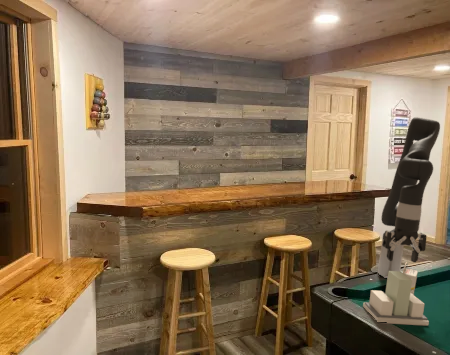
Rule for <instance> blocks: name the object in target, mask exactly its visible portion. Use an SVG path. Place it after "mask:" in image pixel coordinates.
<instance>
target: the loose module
mask: <svg viewBox="0 0 450 355" xmlns="http://www.w3.org/2000/svg"><path fill="white" fill-rule="evenodd" d="M385 285H386V286H385V292H384V294H386V295H387V296H388V297H389V298H390V299H391V300H392V301H393V302H394V303H393V310H392V313H393V314H394V315H401V316H407V313H408V306H409V299H410V292H411V286H412V280H411V279H410V278H409V277H407V276H406V275H405V274H403V271H401V270H400V271H388V278H387V279H386V284H385Z"/></svg>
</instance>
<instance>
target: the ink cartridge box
mask: <svg viewBox="0 0 450 355" xmlns="http://www.w3.org/2000/svg"><path fill="white" fill-rule="evenodd" d="M407 262H408V261H406V262H405V264H404V266H403V269H402V270H403V271H402V273H403V274H405V275H406V276H407V277H409V278H410V279H411V280H412V286H411V292H410V293H412V294H413V295H414V296H415V288H416V285H417V284H416V283H417V279H418V278H417V277H418V270H415V269H411V268H407Z"/></svg>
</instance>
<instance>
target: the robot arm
mask: <svg viewBox="0 0 450 355" xmlns="http://www.w3.org/2000/svg"><path fill="white" fill-rule="evenodd" d="M440 130H441V124H440V122H439V121H437V120H433V119H429V118H423V117H419V116H415V117H413V118H412V119H411V120H410V122H409V124H408V127H407V132H406V136H405V140H404V145H403V149H402V152H401V155H400V157H399V162H398V163H397V164H398V165H397V167H396V171H395V172H394V177H393V181H392V184H391V188H390V192H389V194H388V197H387V199H386V201H385V204H384V206H383V209H382V213H381V223H382V224H383V225H385V226H387V227H388V226H389V227H394V228H393V229H391V230H387V229H386V230H385V231H384V232H383V234H382V240H381V245H380V246H381V247H380V253H379V258H378V265H377V266H378V267H377V268H378V269H377V274H378V273H379V274H381V275H385V276H388V271H400V272H401V269H402V268H401V267H402V261H403V260H402V259H403V254H404V253H403V252H404V246H405V245H406V246H410V247H411V248H412V251H411V257H410V258H411V259H410V261H411V262H412V263H417V261H418V260H419V256H420V253H421V252H425V251H426V245H427V234H425V233H423V232H419V229H420V223H421V217H422V205H423V200H424V199H423V198H424V193H425V190H426V187H427V185H428V182H429V180H430V178H432V177H431V176H432V174H433V172H434V165H433V163H432V162H431V161H430V157H431V151H433V150H432V149H433V148H434V146H435V144H436V141H437V139H438V137H439V135H440ZM414 141H416V142H414ZM397 205H398V206H397ZM418 232H419V233H418ZM417 239H418V243H417V242H416V240H417Z"/></svg>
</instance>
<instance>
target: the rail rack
mask: <svg viewBox="0 0 450 355" xmlns="http://www.w3.org/2000/svg"><path fill="white" fill-rule="evenodd" d="M369 296H370V297H369V301H368V302H367V301H365V302H363V304H362V307H363V308H364V309H365V311H366V312H367V313H368V312H369V313H370V314H371V315H372V316H373V317H374V318H375V319H376V320H377V322H387V323H386V324H394V325H413V326H429V324H430V323H429V322H430V321H429V320H428V317H426V315H424V309H425V303H424V302H423V301H422V300H421V299H419V298H418V297H416V296H415V294H414V295H413V294H412V293H410V299H409V306H408V313H407V316H401V315H394V314H393V313H392V310H393V303H394V302H393V301H392V300H391V299H390V298H389V297H388V296H387V295H386V294H385V292H384V291H382V290H375V289H374V290H373V289H372V290H371V289H370V295H369ZM370 314H369V315H370ZM371 315H370V316H371ZM372 316H371V317H372ZM373 317H372V318H373ZM374 318H373V319H374ZM375 319H374V320H375ZM377 322H376V323H377Z"/></svg>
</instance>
